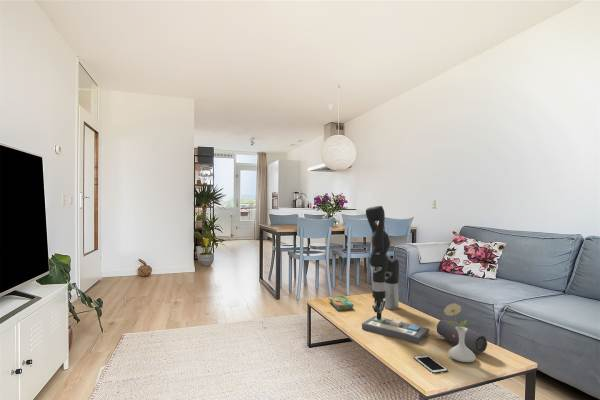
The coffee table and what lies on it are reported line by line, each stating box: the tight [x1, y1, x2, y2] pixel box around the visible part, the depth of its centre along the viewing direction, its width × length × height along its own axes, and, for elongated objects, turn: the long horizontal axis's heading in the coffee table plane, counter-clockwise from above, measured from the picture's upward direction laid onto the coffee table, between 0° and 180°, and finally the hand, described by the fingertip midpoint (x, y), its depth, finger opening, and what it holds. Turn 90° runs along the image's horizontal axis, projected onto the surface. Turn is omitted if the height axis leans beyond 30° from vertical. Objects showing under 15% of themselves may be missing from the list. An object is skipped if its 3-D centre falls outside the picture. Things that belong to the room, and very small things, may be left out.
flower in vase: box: [443, 303, 477, 363], centre depth 148 cm, size 13×11×25 cm
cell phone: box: [413, 354, 449, 374], centre depth 143 cm, size 8×15×1 cm, turn 14°
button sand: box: [390, 318, 403, 327], centre depth 181 cm, size 5×5×4 cm
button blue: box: [408, 324, 420, 332], centre depth 175 cm, size 5×5×4 cm
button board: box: [361, 315, 430, 345], centre depth 180 cm, size 16×32×4 cm, turn 51°
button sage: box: [374, 317, 385, 323], centre depth 188 cm, size 5×5×4 cm
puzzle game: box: [327, 295, 355, 311], centre depth 226 cm, size 12×5×20 cm
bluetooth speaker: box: [436, 319, 488, 354], centre depth 161 cm, size 23×9×10 cm, turn 23°
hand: (379, 319), depth 188 cm, fingers closed
